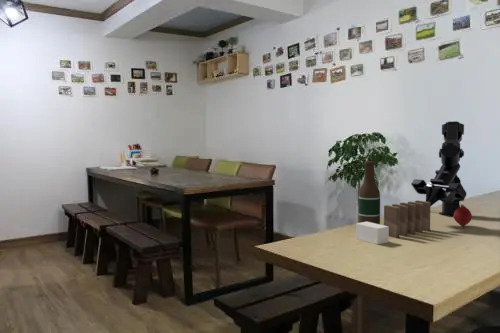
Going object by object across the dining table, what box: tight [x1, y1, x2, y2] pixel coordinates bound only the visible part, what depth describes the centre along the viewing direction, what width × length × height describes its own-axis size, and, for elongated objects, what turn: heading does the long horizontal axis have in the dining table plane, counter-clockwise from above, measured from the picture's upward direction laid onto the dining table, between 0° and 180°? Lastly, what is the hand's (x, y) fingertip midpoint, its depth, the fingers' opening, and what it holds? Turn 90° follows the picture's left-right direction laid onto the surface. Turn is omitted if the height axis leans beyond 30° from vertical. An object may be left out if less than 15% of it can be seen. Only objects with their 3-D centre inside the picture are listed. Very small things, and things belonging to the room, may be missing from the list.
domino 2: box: [391, 203, 408, 237], centre depth 140 cm, size 2×5×10 cm, turn 32°
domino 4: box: [407, 201, 424, 234], centre depth 144 cm, size 2×5×10 cm, turn 31°
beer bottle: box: [357, 160, 381, 225], centre depth 152 cm, size 8×8×24 cm
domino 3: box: [399, 202, 416, 236], centre depth 142 cm, size 2×5×10 cm, turn 32°
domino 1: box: [383, 204, 400, 239], centre depth 138 cm, size 2×5×10 cm, turn 32°
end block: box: [355, 222, 390, 245], centre depth 133 cm, size 5×9×5 cm, turn 32°
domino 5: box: [414, 200, 431, 232], centre depth 146 cm, size 2×5×10 cm, turn 32°
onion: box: [453, 203, 473, 227], centre depth 150 cm, size 6×6×8 cm
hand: (427, 206), depth 147 cm, fingers closed
